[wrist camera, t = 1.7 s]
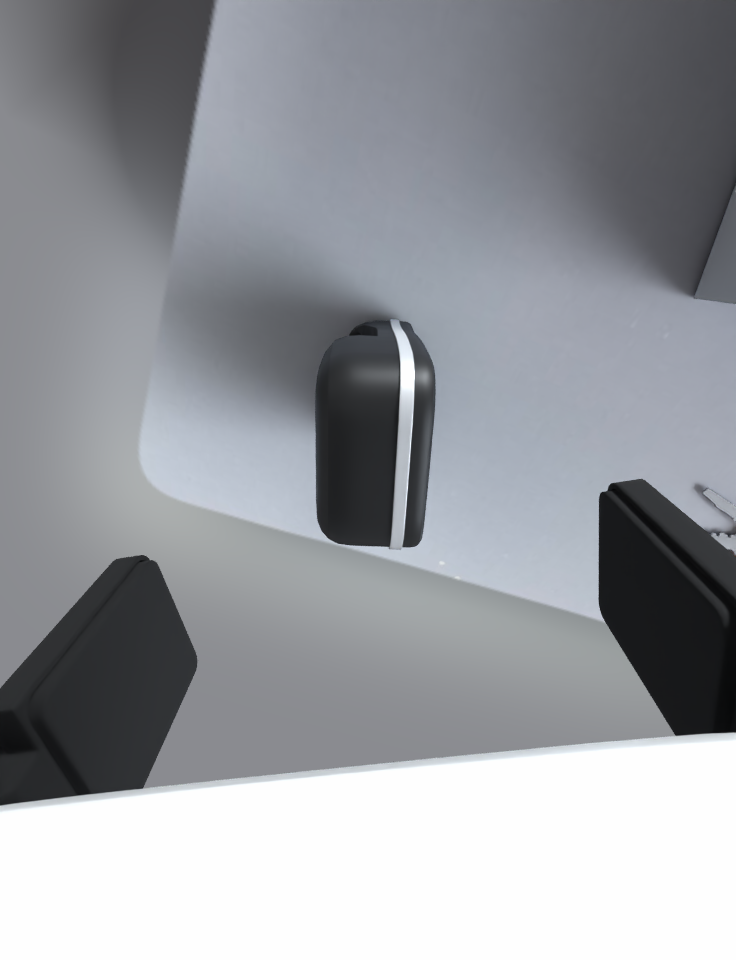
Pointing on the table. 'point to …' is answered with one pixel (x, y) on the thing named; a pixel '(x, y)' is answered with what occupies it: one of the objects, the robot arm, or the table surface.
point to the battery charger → (374, 436)
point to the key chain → (730, 542)
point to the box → (721, 261)
